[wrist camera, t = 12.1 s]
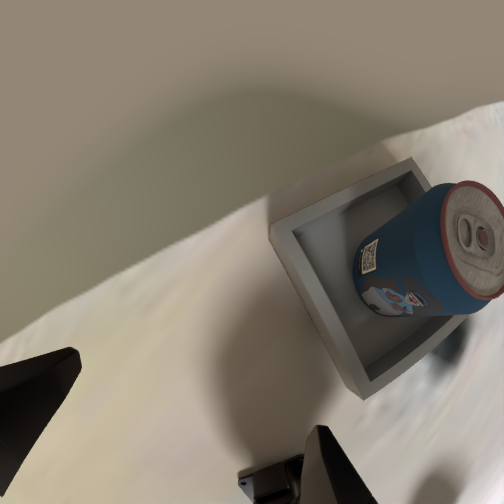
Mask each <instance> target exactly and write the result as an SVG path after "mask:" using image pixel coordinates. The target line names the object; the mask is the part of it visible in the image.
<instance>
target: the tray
mask: <svg viewBox="0 0 504 504" xmlns="http://www.w3.org/2000/svg"><path fill="white" fill-rule="evenodd" d="M431 188H432V187H431V186H430V184H429V182H428V181H427V179H426V178H425V176H424V175H423V173H422V172H421V170H420V169H419V167H418V166H417V164H416V163H415V161H414V160H413V158H412V157H411V158H409V159H406V160H404V161H402V162H400V163H398V164H396V165H394V166H391V167H389V168H387V169H385V170H383V171H381V172H379V173H377V174H374V175H372V176H370V177H368V178H366V179H364V180H362V181H360V182H358V183H355V184H353V185H351V186H349V187H347V188H345V189H343V190H341V191H339V192H337V193H335V194H333V195H330V196H328V197H326V198H324V199H322V200H320V201H318V202H316V203H314V204H312V205H310V206H308V207H306V208H304V209H302V210H300V211H298V212H296V213H294V214H291V215H289V216H287V217H285V218H283V219H281V220H279V221H277V222H275V223H273V224H271V229H270V235H269V241H270V243H271V245H272V247H273V248H274V250H275V252H276V254H277V256H278V258H279V259H280V261H281V263H282V265H283V267H284V269H285V271H286V272H287V274H288V276H289V278H290V280H291V282H292V284H293V285H294V287H295V289H296V291H297V293H298V295H299V297H300V299H301V300H302V302H303V304H304V306H305V308H306V310H307V312H308V314H309V316H310V317H311V319H312V321H313V323H314V325H315V327H316V329H317V331H318V333H319V335H320V337H321V338H322V340H323V342H324V344H325V346H326V348H327V350H328V352H329V354H330V356H331V358H332V360H333V362H334V364H335V366H336V368H337V370H338V372H339V373H340V375H341V377H342V379H343V381H344V383H345V385H346V387H347V388H348V389H349V390H351V391H352V392H353V393H354V394H356V395H357V396H358V397H360V398H361V399H362V400H363V401H364V400H365V399H367V398H368V397H370V396H371V395H373V394H374V393H376V392H377V391H379V390H380V389H382V388H383V387H385V386H386V385H387V384H389V383H390V382H392V381H393V380H394V379H396V378H397V377H398V376H400V375H401V374H402V373H404V372H405V371H406V370H408V369H409V368H410V367H411V366H413V365H414V364H415V363H417V362H418V361H419V360H420V359H421V358H423V357H424V356H425V355H426V354H427V353H429V352H430V351H431V350H432V349H433V348H434V347H436V346H437V345H438V344H439V343H440V342H441V341H442V340H443V339H445V338H446V337H447V336H448V335H449V334H450V333H451V332H452V331H453V330H454V329H455V328H456V327H457V326H458V325H459V324H460V323H461V322H462V321H463V320H464V319H465V318H466V317H467V316H468V315H469V314H466V315H448V316H422V317H386V316H382V315H379V314H377V313H375V312H373V311H372V310H370V309H369V308H368V307H367V306H366V305H365V304H364V303H363V301H362V300H361V299H360V297H359V295H358V293H357V291H356V288H355V285H354V281H353V261H354V257H355V254H356V251H357V249H358V247H359V246H360V244H361V243H362V242H363V240H364V239H365V238H366V237H367V236H369V235H370V234H372V233H373V232H374V231H376V230H377V229H378V228H380V227H381V226H382V225H384V224H385V223H387V222H388V221H389V220H391V219H392V218H393V217H395V216H396V215H397V214H399V213H400V212H401V211H402V210H404V209H405V208H406V207H408V206H409V205H410V204H412V203H413V202H414V201H416V200H417V199H418V198H419V197H421V196H422V195H423V194H424V193H426V192H427V191H428V190H430V189H431Z"/></svg>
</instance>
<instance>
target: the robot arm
mask: <svg viewBox="0 0 504 504" xmlns="http://www.w3.org/2000/svg"><path fill="white" fill-rule="evenodd" d="M81 369H82V364H81V359H80V354H79V351H78V350H76V349H74V348H72V347H66V348H63V349H60V350H57V351H53V352H50V353H47V354H43V355H40V356H37V357H33V358H30V359H26V360H23V361H19V362H16V363H12V364H9V365H5V366H1V367H0V496H1V497H3V496H4V494H5V492H6V490H7V489H8V487H9V485H10V483H11V482H12V480H13V478H14V476H15V475H16V473H17V471H18V470H19V468H20V466H21V465H22V463H23V461H24V460H25V458H26V456H27V455H28V453H29V452H30V450H31V449H32V447H33V445H34V444H35V442H36V441H37V439H38V438H39V436H40V435H41V433H42V432H43V430H44V429H45V427H46V426H47V424H48V423H49V421H50V420H51V418H52V417H53V416H54V414H55V413H56V411H57V410H58V408H59V407H60V405H61V404H62V403H63V401H64V400H65V398H66V396H67V395H68V393H69V391H70V389H71V388H72V386H73V384H74V382H75V380H76V379H77V377H78V375H79V373H80V372H81ZM300 459H304V460H302V461H299V460H300ZM242 482H246V483H242ZM238 485H239V486H240V488H241V489H242V490H243V491H244V493H245V494H246V495H247V496H248V498H249V499H250V500H251V501H252V502H253V504H378V503H377V501H376V500H375V498H374V497H373V496H372V494H371V492H370V491H369V489H368V488H367V486H366V485H365V483H364V482H363V480H362V479H361V477H360V476H359V474H358V473H357V471H356V470H355V468H354V466H353V465H352V463H351V462H350V460H349V459H348V457H347V456H346V454H345V453H344V451H343V449H342V448H341V446H340V445H339V443H338V442H337V440H336V438H335V437H334V435H333V434H332V432H331V430H330V429H329V427H328V426H325V425H316V426H315V427H314V428H313V430H312V432H311V433H310V435H309V436H308V438H307V441H306V448H305V455H303V454H301V455H298V456H295V457H293V458H291V459H289V460H286V461H284V462H279V463H277V464H274V465H272V466H269V467H267V468H264V469H261V470H259V471H256V472H254V473H253V474H251V475H248V476H245V477H242V478H240V479H239V480H238Z"/></svg>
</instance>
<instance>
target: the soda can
mask: <svg viewBox="0 0 504 504" xmlns="http://www.w3.org/2000/svg"><path fill="white" fill-rule="evenodd" d="M353 281H354V285H355V288H356V291H357V293H358V295H359V297H360V299H361V300H362V301H363V303H364V304H365V305H366V306H367V307H368V308H369V309H370V310H372V311H373V312H375V313H377V314H379V315H382V316H386V317H422V316H448V315H466V314H472V313H475V312H477V311H479V310H481V309H482V308H483V307H485V306H486V305H487V304H488V303H489V302H490V301H491V300H492V299H495V298H497V297H499V296H500V295H502V294H503V293H504V207H503V205H502V204H501V202H500V201H499V199H498V198H497V197H496V195H495V194H494V193H493V192H492V191H491V190H490V189H488V188H487V187H486V186H484V185H482V184H480V183H478V182H475V181H462V182H459V183H457V184H454V183H444V184H439V185H436V186H434V187H432V188H431V189H430V190H428V191H427V192H426V193H424V194H423V195H422V196H421V197H419V198H418V199H417V200H416V201H414V202H413V203H412V204H410V205H409V206H408V207H406V208H405V209H404V210H402V211H401V212H400V213H399V214H397V215H396V216H395V217H393V218H392V219H391V220H389V221H388V222H387V223H385V224H384V225H382V226H381V227H380V228H378V229H377V230H376V231H374V232H373V233H372V234H370V235H369V236H367V237H366V238H365V239H364V240H363V242H362V243H361V244H360V246H359V247H358V249H357V251H356V254H355V257H354V261H353Z"/></svg>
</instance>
